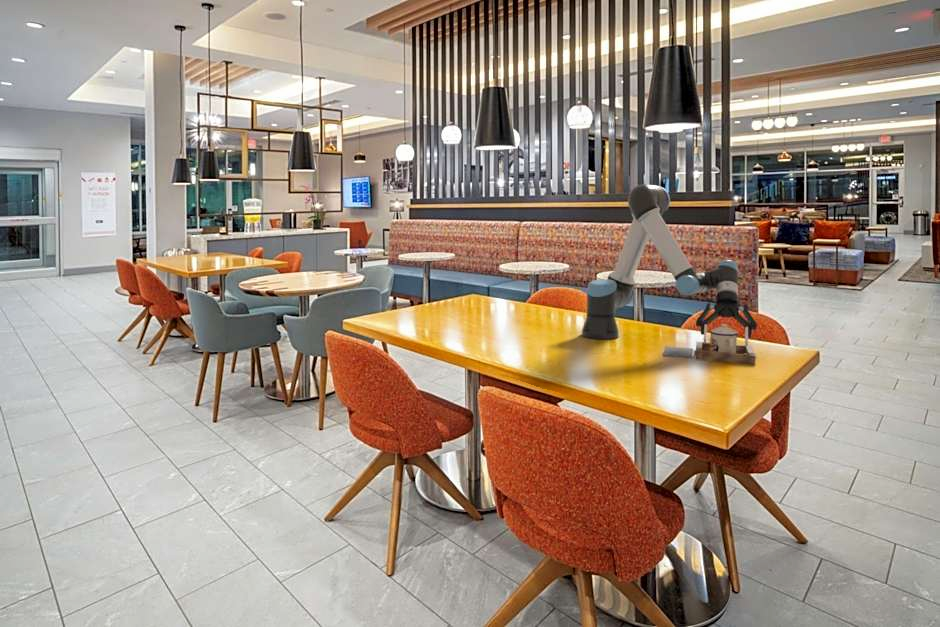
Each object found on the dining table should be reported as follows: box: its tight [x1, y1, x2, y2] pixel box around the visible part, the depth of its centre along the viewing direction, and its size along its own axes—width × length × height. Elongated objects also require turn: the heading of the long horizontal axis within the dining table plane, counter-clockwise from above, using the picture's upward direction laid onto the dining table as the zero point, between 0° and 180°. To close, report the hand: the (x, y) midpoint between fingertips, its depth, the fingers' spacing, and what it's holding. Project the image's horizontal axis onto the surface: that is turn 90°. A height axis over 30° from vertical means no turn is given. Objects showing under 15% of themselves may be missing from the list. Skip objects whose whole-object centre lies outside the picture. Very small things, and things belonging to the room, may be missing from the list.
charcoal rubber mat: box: [662, 346, 694, 359], centre depth 216 cm, size 10×15×1 cm, turn 159°
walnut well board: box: [694, 341, 757, 366], centre depth 210 cm, size 19×18×3 cm
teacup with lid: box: [709, 323, 739, 354], centre depth 209 cm, size 12×9×12 cm
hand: (725, 342), depth 207 cm, fingers open, 13 cm apart
